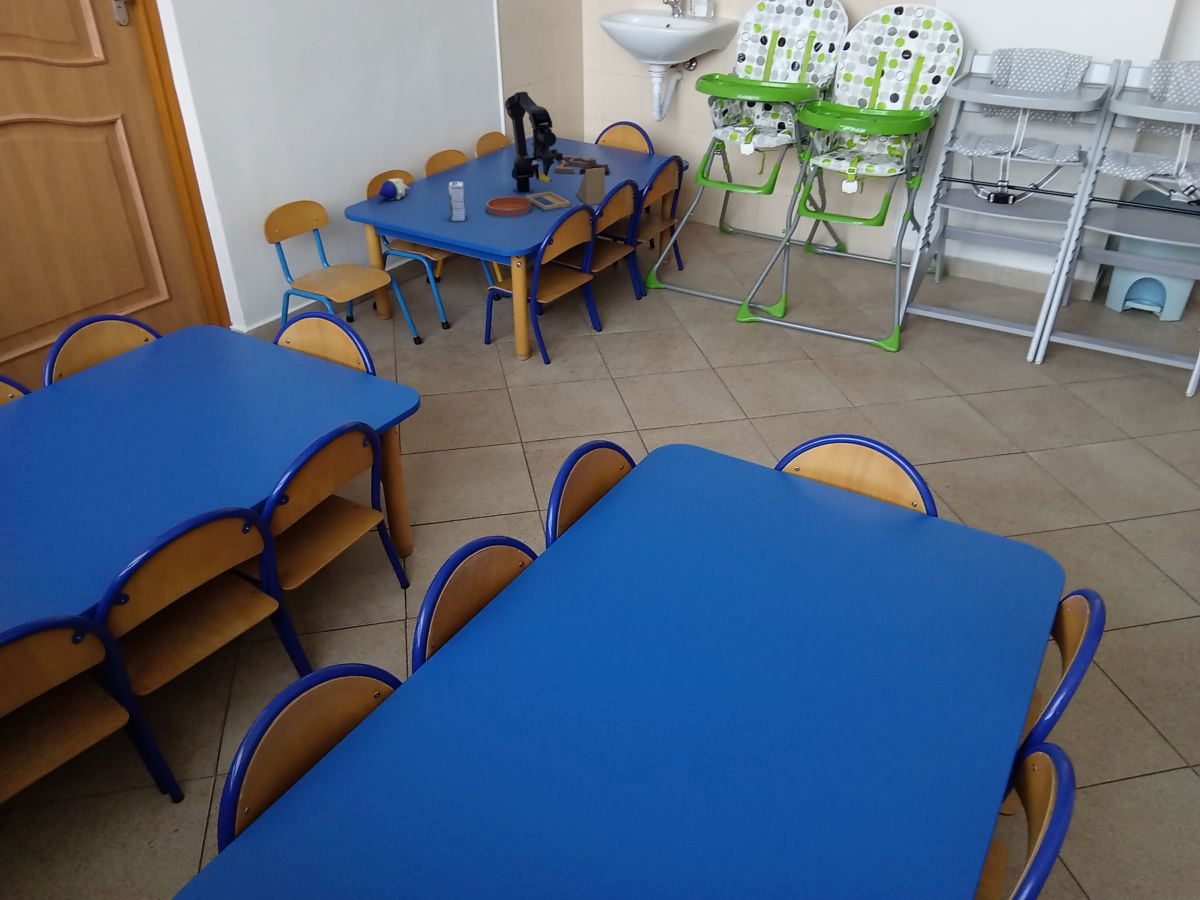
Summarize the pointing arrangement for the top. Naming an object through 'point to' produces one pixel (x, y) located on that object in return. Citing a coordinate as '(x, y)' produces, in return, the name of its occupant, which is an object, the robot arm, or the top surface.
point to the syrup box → (457, 201)
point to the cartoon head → (393, 189)
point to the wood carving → (579, 164)
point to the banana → (544, 178)
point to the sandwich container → (592, 186)
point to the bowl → (508, 206)
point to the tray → (551, 197)
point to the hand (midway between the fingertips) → (541, 179)
